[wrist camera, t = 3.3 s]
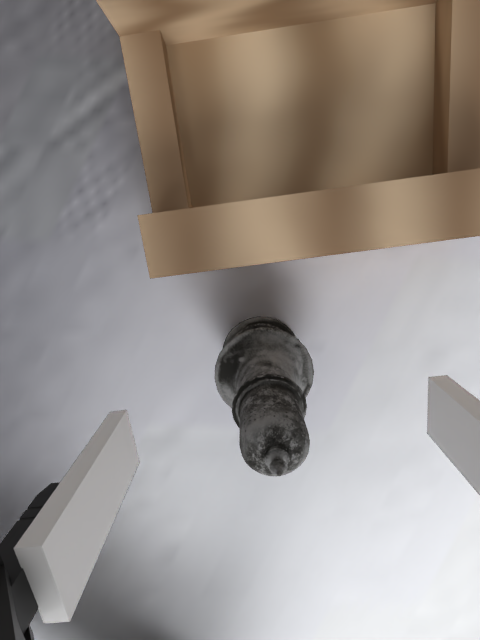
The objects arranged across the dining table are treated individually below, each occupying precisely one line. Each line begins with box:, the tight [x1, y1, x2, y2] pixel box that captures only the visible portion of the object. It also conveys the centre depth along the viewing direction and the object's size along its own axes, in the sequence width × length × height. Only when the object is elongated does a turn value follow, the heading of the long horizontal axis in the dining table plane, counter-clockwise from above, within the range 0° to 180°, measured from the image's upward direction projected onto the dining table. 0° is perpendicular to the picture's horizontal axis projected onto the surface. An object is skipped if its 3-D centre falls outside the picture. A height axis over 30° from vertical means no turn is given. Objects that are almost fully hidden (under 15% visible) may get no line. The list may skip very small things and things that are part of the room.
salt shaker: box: [215, 317, 314, 476], centre depth 18 cm, size 6×6×12 cm
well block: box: [96, 0, 480, 279], centre depth 17 cm, size 18×14×6 cm
